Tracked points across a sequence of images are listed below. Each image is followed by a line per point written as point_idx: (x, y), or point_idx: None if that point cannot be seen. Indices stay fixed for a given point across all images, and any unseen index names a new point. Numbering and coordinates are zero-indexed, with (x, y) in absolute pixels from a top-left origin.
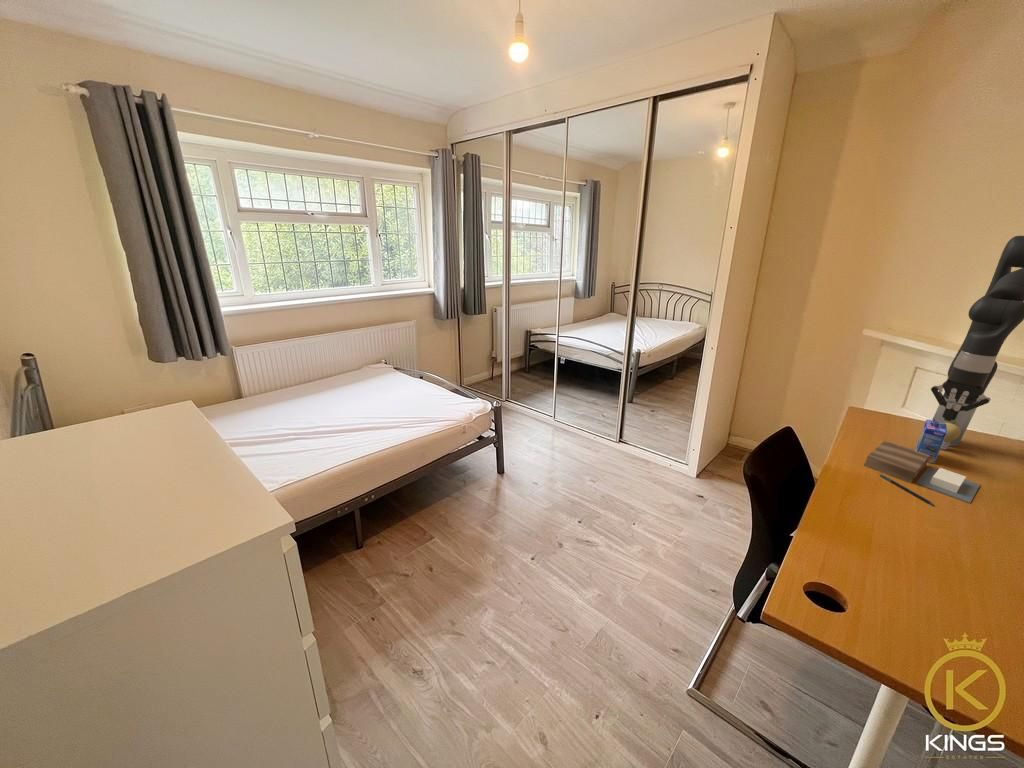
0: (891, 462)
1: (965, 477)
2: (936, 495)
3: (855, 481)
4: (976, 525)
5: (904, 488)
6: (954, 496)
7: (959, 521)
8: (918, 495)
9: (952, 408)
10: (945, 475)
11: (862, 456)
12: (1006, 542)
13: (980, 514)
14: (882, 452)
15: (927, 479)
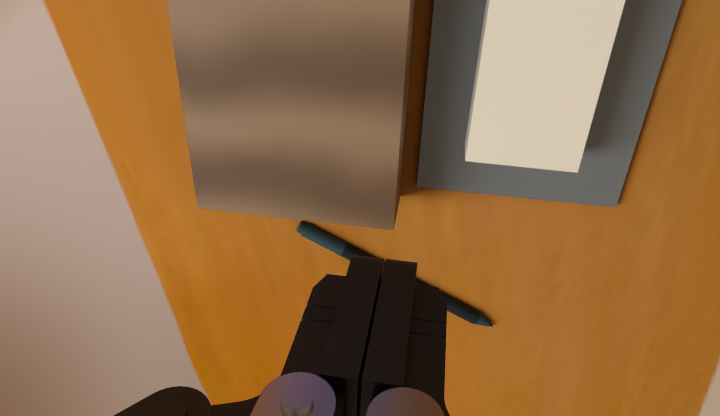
0: (291, 202)
1: (620, 14)
2: (495, 231)
3: (260, 332)
4: (612, 353)
5: None
6: (559, 195)
7: (563, 363)
8: None
9: (348, 394)
10: (519, 88)
11: (174, 72)
12: (683, 392)
13: (640, 267)
14: (220, 106)
15: (453, 104)
